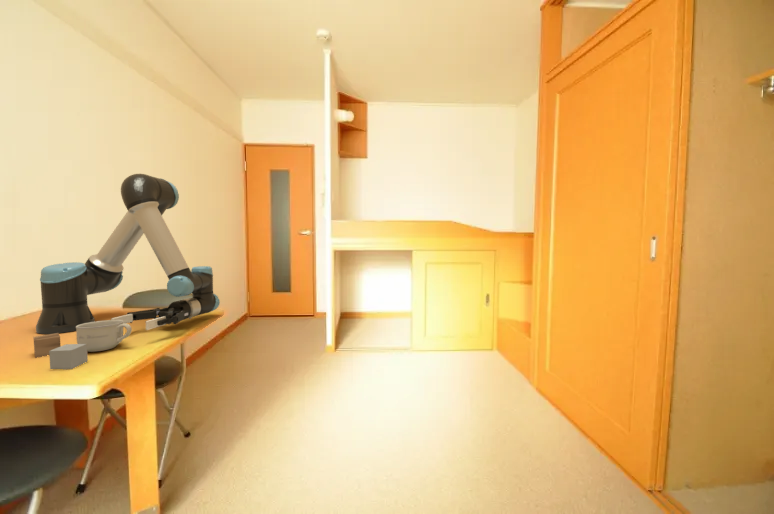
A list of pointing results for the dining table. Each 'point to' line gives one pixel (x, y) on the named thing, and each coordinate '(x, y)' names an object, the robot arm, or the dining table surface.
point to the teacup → (102, 334)
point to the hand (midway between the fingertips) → (129, 324)
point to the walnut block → (46, 344)
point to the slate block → (68, 356)
